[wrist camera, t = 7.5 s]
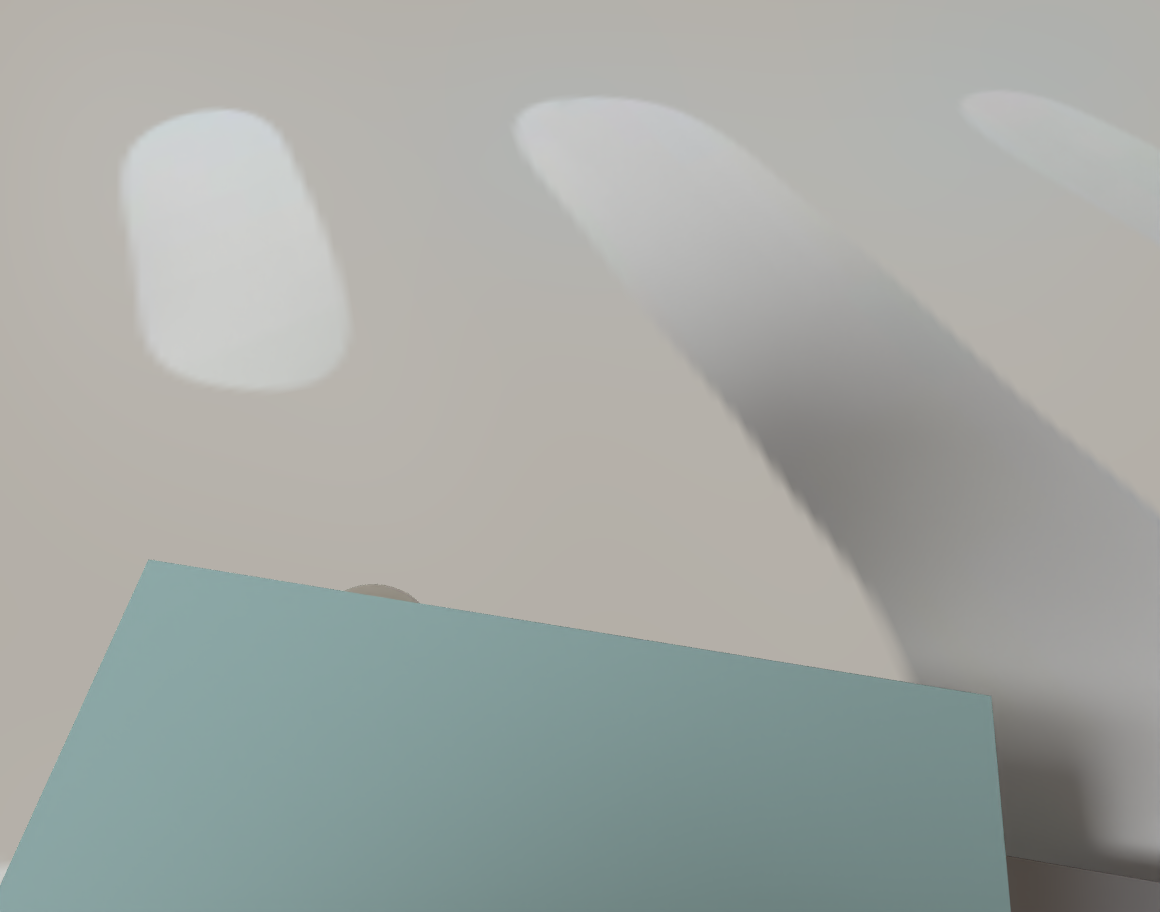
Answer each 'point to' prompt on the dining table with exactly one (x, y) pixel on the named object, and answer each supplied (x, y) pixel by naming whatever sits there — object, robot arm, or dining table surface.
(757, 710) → the tall teal block
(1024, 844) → the dining table surface
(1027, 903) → the hinge cabinet
